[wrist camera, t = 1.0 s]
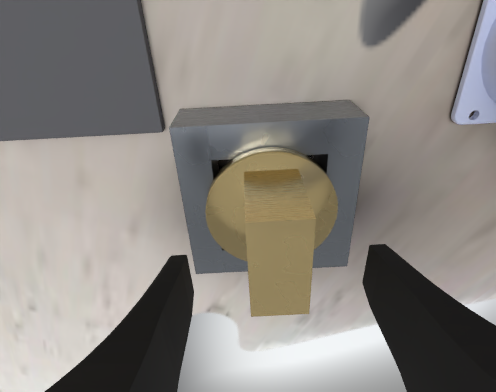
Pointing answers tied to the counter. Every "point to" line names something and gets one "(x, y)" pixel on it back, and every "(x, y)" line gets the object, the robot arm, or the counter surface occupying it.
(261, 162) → the end cover
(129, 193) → the counter surface
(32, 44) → the mat
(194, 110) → the housing
